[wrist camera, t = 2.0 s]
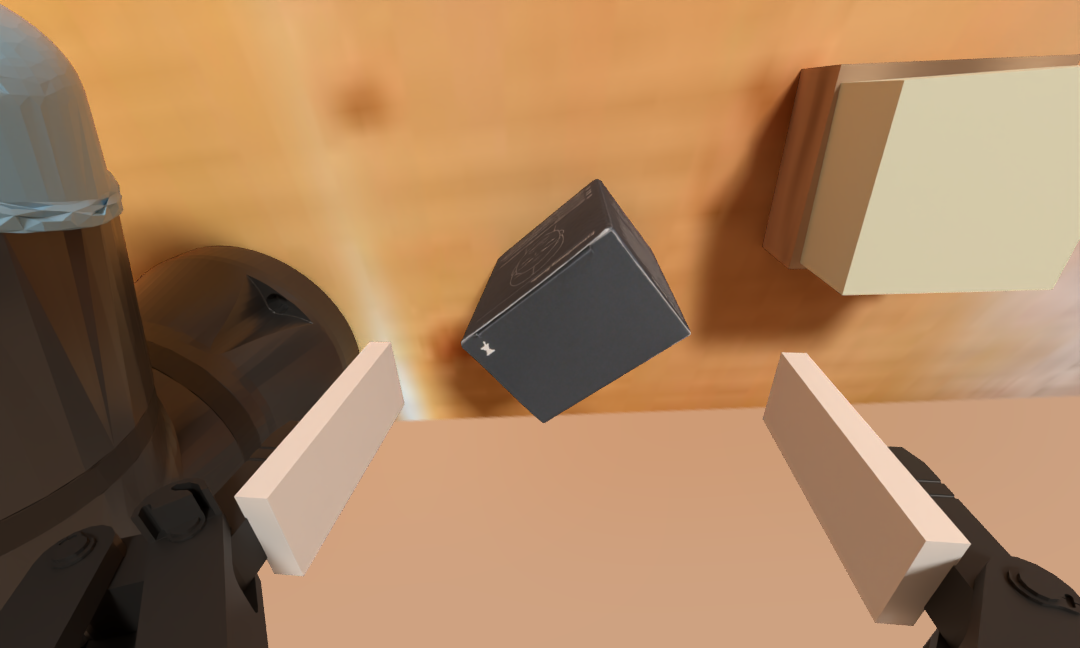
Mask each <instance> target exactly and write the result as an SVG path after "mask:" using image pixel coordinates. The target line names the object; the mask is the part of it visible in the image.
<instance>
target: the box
mask: <svg viewBox="0 0 1080 648" xmlns="http://www.w3.org/2000/svg"><path fill="white" fill-rule="evenodd" d="M690 334H691V332H690V329H689V327H688V325H687V323H686V321H685V319H684V317H683V314H682V312H681V310H680V308H679V306H678V304H677V302H676V300H675V298H674V295H673V293H672V292H671V289H670V287H669V285H668V283H667V281H666V279H665V277H664V275H663V273H662V271H661V269H660V267H659V265H658V263H657V260H656V258H655V256H654V254H653V252H652V250H651V248H650V247H649V246H648V245H647V243H646V242H645V241H644V239H643V238H642V236H641V235H640V234H639V232H638V231H637V230H636V228H635V227H634V226H633V224H632V223H631V222H630V220H629V219H628V217H627V216H626V215H625V213H624V212H623V211H622V209H621V208H620V206H619V205H618V204H617V202H616V201H615V199H614V198H613V197H612V195H611V194H610V193H609V191H608V190H607V188H606V187H605V186H604V185H603V183H602V181H600V180H599V179H596V180H594V181H592V182H591V183H590V184H588V185H587V186H586V187H585V188H583V189H582V190H581V191H580V192H579V193H578V194H576V195H575V196H574V197H572V198H571V199H570V200H569V201H567V202H566V203H565V204H564V205H563V206H561V207H560V208H559V209H558V210H557V211H555V212H554V213H553V214H552V215H550V216H549V217H548V218H547V219H546V220H544V221H543V222H542V223H541V224H539V225H538V226H537V227H536V228H535V229H533V230H532V231H531V232H530V233H529V234H527V235H526V236H525V237H524V238H522V239H521V240H520V241H519V242H518V243H516V244H515V245H514V246H513V247H512V248H510V249H509V250H508V251H507V252H505V253H504V254H503V255H502V256H501V257H500V258H499V259H498V261H497V263H496V266H495V267H494V270H493V272H492V274H491V277H490V279H489V281H488V284H487V285H486V288H485V290H484V292H483V294H482V296H481V298H480V301H479V303H478V305H477V307H476V310H475V312H474V314H473V317H472V319H471V321H470V323H469V325H468V327H467V330H466V332H465V335H464V337H463V339H462V341H461V345H462V348H463V349H464V350H465V351H467V352H468V353H469V354H470V355H471V356H472V357H473V358H474V359H475V360H477V361H478V362H479V363H480V364H481V365H482V366H483V367H484V368H485V369H486V370H487V371H488V372H489V373H490V374H491V375H492V376H493V377H494V378H495V379H496V380H497V381H498V382H499V383H500V384H501V385H502V386H503V387H504V388H506V389H507V390H508V391H509V392H510V393H511V394H512V395H513V396H514V397H515V398H516V399H517V400H518V401H519V402H520V403H521V404H522V405H523V406H524V407H526V408H527V409H528V410H529V411H530V412H531V413H532V414H533V415H534V416H535V417H536V418H538V419H539V420H540V421H541V422H542V423H545V422H547V421H549V420H550V419H552V418H553V417H555V416H557V415H558V414H560V413H562V412H563V411H565V410H566V409H568V408H570V407H572V406H573V405H575V404H576V403H578V402H580V401H581V400H583V399H585V398H586V397H588V396H590V395H591V394H593V393H595V392H596V391H598V390H599V389H601V388H603V387H604V386H606V385H608V384H609V383H611V382H613V381H614V380H616V379H618V378H619V377H621V376H623V375H624V374H626V373H628V372H629V371H631V370H633V369H634V368H636V367H638V366H639V365H641V364H642V363H644V362H646V361H648V360H649V359H651V358H652V357H654V356H656V355H657V354H659V353H661V352H662V351H664V350H665V349H667V348H669V347H671V346H672V345H674V344H676V343H677V342H679V341H681V340H682V339H684V338H686V337H688V336H689V335H690Z"/></svg>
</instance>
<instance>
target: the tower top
mask: <svg viewBox="0 0 1080 648" xmlns="http://www.w3.org/2000/svg"><path fill="white" fill-rule="evenodd" d="M1079 239H1080V65H1075V66H1058V67H1044V68H1031V69H1018V70H1004V71H991V72H978V73H965V74H952V75H939V76H926V77H912V78H899V79H886V80H873V81H860V82H847V83H841V86H840V90H839V94H838V99H837V103H836V107H835V112H834V116H833V120H832V125H831V129H830V134H829V138H828V142H827V147H826V151H825V155H824V160H823V164H822V168H821V173H820V177H819V181H818V186H817V190H816V195H815V199H814V203H813V208H812V212H811V216H810V221H809V225H808V229H807V234H806V238H805V243H804V247H803V251H802V256H801V260H800V263H801V264H802V265H803V266H805V267H806V268H807V269H808V270H810V271H811V272H812V273H814V274H815V275H816V276H818V277H819V278H820V279H822V280H823V281H824V282H825V283H827V284H828V285H829V286H831V287H832V288H833V289H835V290H836V291H837V292H839V293H840V294H841V295H873V294H911V293H949V292H986V291H1024V290H1053V288H1054V286H1055V284H1056V282H1057V280H1058V278H1059V277H1060V275H1061V273H1062V271H1063V269H1064V267H1065V265H1066V264H1067V262H1068V260H1069V258H1070V256H1071V254H1072V252H1073V251H1074V249H1075V247H1076V245H1077V243H1078V241H1079Z"/></svg>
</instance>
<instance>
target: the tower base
mask: <svg viewBox="0 0 1080 648" xmlns="http://www.w3.org/2000/svg"><path fill="white" fill-rule="evenodd" d="M1079 61H1080V54H1078V55H1054V56H1030V57H1007V58H983V59H960V60H936V61H913V62H889V63H866V64H842V65H833V66H825V67H816V68H808V69H801V74H800V78H799V83H798V87H797V92H796V96H795V101H794V106H793V110H792V115H791V119H790V124H789V128H788V133H787V137H786V142H785V146H784V151H783V155H782V160H781V165H780V169H779V174H778V178H777V183H776V187H775V192H774V196H773V201H772V205H771V210H770V214H769V219H768V224H767V228H766V233H765V237H764V242H763V246H762V247H763V248H764V249H765V250H767V251H768V252H769V253H770V254H771V255H773V256H774V257H775V258H776V259H777V260H779V261H780V262H781V263H782V264H783V265H785V266H786V267H787V268H788V269H807V268H806V267H805V266H803V265H802V264H801V263H800V260H801V256H802V251H803V247H804V243H805V238H806V234H807V229H808V225H809V221H810V216H811V212H812V208H813V203H814V199H815V195H816V190H817V186H818V181H819V177H820V173H821V168H822V164H823V160H824V155H825V151H826V147H827V142H828V138H829V134H830V129H831V125H832V120H833V116H834V112H835V107H836V103H837V99H838V94H839V90H840V86H841V83H847V82H860V81H873V80H886V79H899V78H912V77H926V76H939V75H952V74H965V73H978V72H991V71H1004V70H1018V69H1031V68H1044V67H1058V66H1075V65H1078V63H1079Z"/></svg>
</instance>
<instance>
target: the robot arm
mask: <svg viewBox="0 0 1080 648" xmlns="http://www.w3.org/2000/svg"><path fill="white" fill-rule="evenodd" d="M121 198H122V195H120V190H119V184H118V183H117V181H116V180H115V178H114V177H113V175H112V174H111V173H110V172H109V171H108V170H107V167H106V164H105V160H104V157H103V153H102V150H101V146H100V142H99V139H98V135H97V132H96V128H95V125H94V121H93V118H92V114H91V111H90V107H89V103H88V100H87V96H86V93H85V90H84V88H83V85H82V83H81V81H80V79H79V76H78V74H77V73H76V71H75V69H74V68H73V66H72V64H71V63H70V62H69V60H68V59H67V58H66V57H65V55H64V54H63V53H62V52H61V51H60V50H59V49H58V47H57V46H56V45H55V44H54V43H53V42H52V41H51V40H50V39H49V38H47V37H46V36H45V35H44V34H43V33H42V32H40V31H39V30H38V29H37V28H36V27H34V26H33V25H32V24H30V23H29V22H28V21H26V20H25V19H24V18H22V17H21V16H19V15H18V14H16V13H14V12H13V11H11V10H9V9H8V8H6V7H4V6H3V5H1V4H0V648H268V641H267V632H266V624H265V614H264V607H263V597H262V589H261V581H260V579H259V577H258V575H257V572H258V571H259V569H260V568H261V567H262V565H263V564H264V562H265V560H266V559H267V560H268V562H269V564H270V566H271V568H272V570H273V572H274V574H285V575H297V576H304V575H305V573H306V571H307V570H308V568H309V566H310V564H311V563H312V561H313V559H314V558H315V556H316V554H317V553H318V551H319V549H320V547H321V546H322V544H323V542H324V541H325V539H326V537H327V535H328V534H329V532H330V530H331V529H332V527H333V525H334V524H335V522H336V520H337V518H338V517H339V515H340V513H341V511H342V509H343V508H344V507H345V505H346V503H347V501H348V500H349V498H350V496H351V495H352V493H353V491H354V489H355V488H356V486H357V484H358V482H359V481H360V479H361V478H362V475H363V474H364V472H365V471H366V469H367V467H368V466H369V464H370V462H371V460H372V459H373V457H374V455H375V454H376V452H377V450H378V448H379V447H380V445H381V443H382V442H383V440H384V438H385V437H386V435H387V433H388V431H389V430H390V428H391V426H392V425H393V423H394V421H395V420H396V418H397V416H398V414H399V413H400V411H401V409H402V408H403V406H404V400H403V395H402V391H401V386H400V382H399V377H398V373H397V368H396V364H395V359H394V355H393V350H392V346H391V342H369V343H368V344H367V346H366V347H365V348H364V349H363V350H362V351H361V352H360V353H359V351H358V347H357V343H356V340H355V338H354V335H353V333H352V331H351V329H350V327H349V325H348V323H347V321H346V319H345V318H344V316H343V315H342V313H341V312H340V311H339V309H338V308H337V306H336V305H335V304H334V303H333V302H332V300H331V299H330V298H329V297H328V296H327V295H326V294H325V293H324V292H323V291H322V290H321V289H320V288H319V287H318V286H317V285H315V284H314V283H313V282H312V281H311V280H309V279H308V278H307V277H305V276H304V275H303V274H301V273H300V272H298V271H297V270H295V269H293V268H292V267H290V266H288V265H287V264H285V263H283V262H281V261H279V260H277V259H275V258H272V257H270V256H267V255H265V254H262V253H259V252H256V251H253V250H249V249H244V248H239V247H231V246H209V247H203V248H198V249H195V250H191V251H189V252H186V253H184V254H181V255H179V256H176V257H174V258H171V259H169V260H166V261H164V262H162V263H160V264H158V265H156V266H155V267H153V268H152V269H150V270H149V271H147V272H146V273H145V274H144V275H143V276H141V277H140V278H139V279H138V280H137V282H136V283H135V284H134V282H133V277H132V273H131V268H130V263H129V258H128V254H127V249H126V244H125V240H124V235H123V230H122V226H121V221H120V216H119V215H120V214H121V213H122V211H123V207H122V203H121ZM763 420H764V422H765V424H766V426H767V428H768V429H769V431H770V433H771V435H772V437H773V438H774V440H775V442H776V444H777V446H778V447H779V449H780V451H781V453H782V455H783V456H784V458H785V460H786V462H787V464H788V466H789V467H790V469H791V471H792V473H793V475H794V477H795V478H796V480H797V482H798V484H799V485H800V487H801V489H802V491H803V493H804V495H805V496H806V498H807V500H808V502H809V504H810V506H811V507H812V509H813V511H814V513H815V515H816V516H817V518H818V520H819V522H820V524H821V525H822V527H823V529H824V531H825V533H826V535H827V536H828V538H829V540H830V542H831V544H832V545H833V547H834V549H835V551H836V553H837V555H838V556H839V558H840V560H841V562H842V563H843V565H844V567H845V569H846V571H847V572H848V575H849V576H850V578H851V580H852V582H853V583H854V585H855V587H856V589H857V591H858V593H859V594H860V596H861V598H862V600H863V601H864V604H865V605H866V607H867V609H868V611H869V612H870V614H871V616H872V618H873V620H874V622H875V623H884V624H896V625H908V626H913V625H914V624H915V623H916V621H917V620H918V618H919V617H920V615H921V614H922V612H923V611H924V610H926V612H927V613H928V615H929V616H930V618H931V619H932V621H933V622H934V624H935V625H936V627H937V629H936V631H935V632H934V633H933V635H932V636H931V637H930V639H929V640H928V641H927V642H926V644H925V645H924V646H923V648H1080V597H1079V596H1078V595H1077V594H1076V592H1075V591H1074V590H1073V589H1072V588H1071V587H1069V586H1068V585H1067V584H1066V583H1064V582H1063V581H1062V580H1061V579H1059V578H1057V576H1055V575H1054V574H1052V573H1050V572H1048V571H1047V570H1045V569H1043V568H1041V567H1040V566H1038V565H1036V564H1033V563H1031V562H1028V561H1026V560H1023V559H1020V558H1018V557H1012V556H1010V554H1008V552H1007V551H1006V550H1005V549H1004V548H1003V547H1002V546H1001V545H1000V544H999V543H998V542H997V540H995V538H994V537H993V536H992V535H991V534H990V533H989V532H988V531H987V530H986V529H985V528H984V526H983V525H982V524H981V523H980V522H979V521H978V520H977V519H976V518H975V517H974V516H973V515H972V514H971V513H970V511H969V510H968V509H967V508H966V507H965V506H964V505H963V504H962V503H961V502H960V501H959V499H955V498H954V494H953V493H952V492H951V491H950V490H949V489H948V488H947V487H946V485H945V484H941V482H940V479H939V478H938V477H937V476H936V475H935V474H934V473H933V471H932V470H931V469H930V468H929V467H928V466H927V465H926V464H925V463H924V462H922V461H921V460H920V459H918V458H917V457H915V456H914V455H912V454H911V453H910V452H908V451H907V450H905V449H904V448H902V447H887V446H886V445H885V444H884V442H883V441H882V440H881V439H880V438H879V437H878V436H877V434H876V433H875V432H874V431H873V430H872V429H871V427H870V426H869V425H868V424H867V423H866V422H865V420H864V419H863V418H862V417H861V416H860V415H859V413H858V412H857V411H856V410H855V409H854V408H853V406H852V405H851V404H850V403H849V402H848V401H847V400H846V398H845V397H844V396H843V395H842V394H841V393H840V391H839V390H838V389H837V388H836V387H835V386H834V384H833V383H832V382H831V381H830V380H829V379H828V377H827V376H826V375H825V374H824V373H823V372H822V371H821V369H820V368H819V367H818V366H817V365H816V364H815V362H814V361H813V360H812V359H811V358H810V357H809V355H808V354H807V353H781V356H780V360H779V363H778V367H777V370H776V374H775V377H774V381H773V384H772V388H771V391H770V395H769V398H768V402H767V405H766V409H765V413H764V416H763Z"/></svg>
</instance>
